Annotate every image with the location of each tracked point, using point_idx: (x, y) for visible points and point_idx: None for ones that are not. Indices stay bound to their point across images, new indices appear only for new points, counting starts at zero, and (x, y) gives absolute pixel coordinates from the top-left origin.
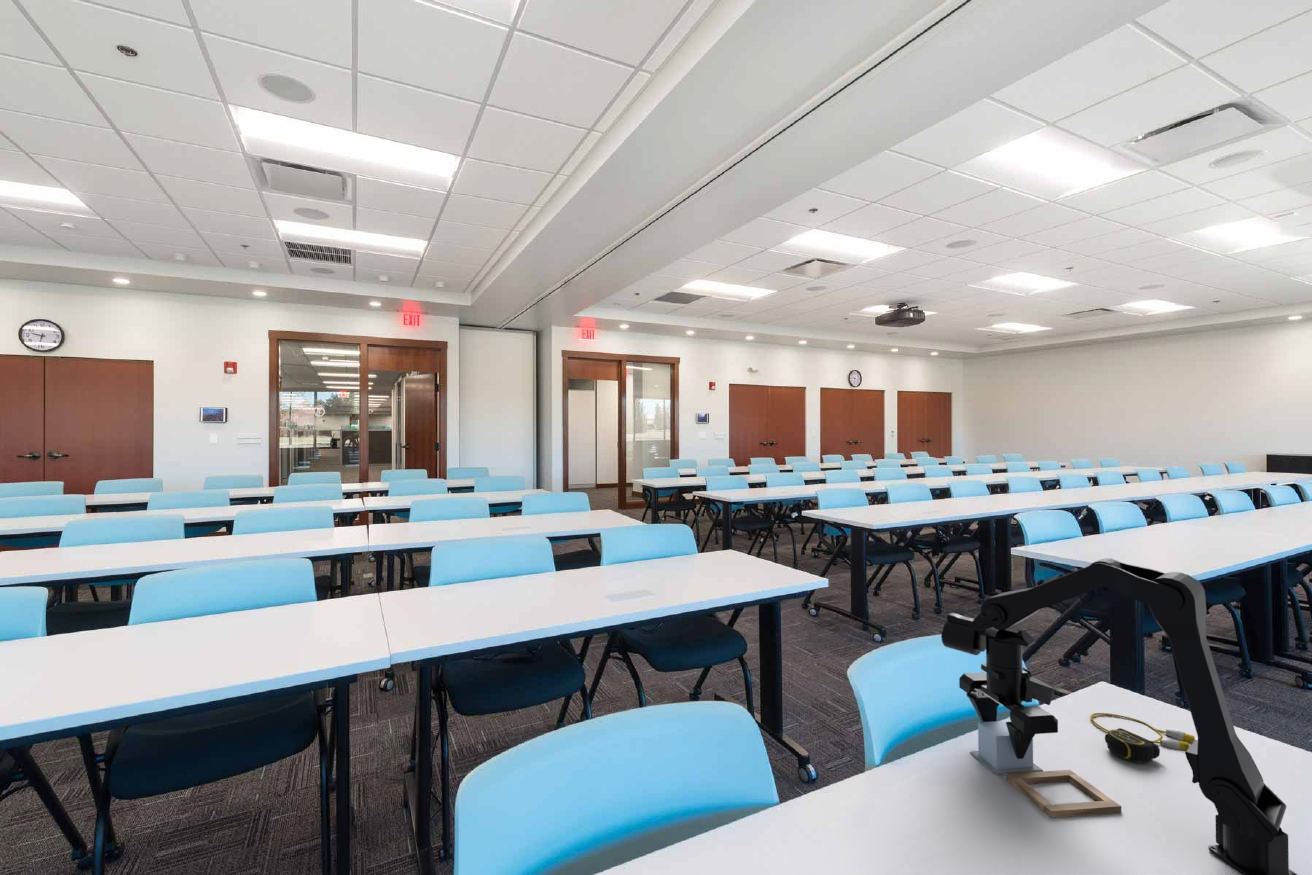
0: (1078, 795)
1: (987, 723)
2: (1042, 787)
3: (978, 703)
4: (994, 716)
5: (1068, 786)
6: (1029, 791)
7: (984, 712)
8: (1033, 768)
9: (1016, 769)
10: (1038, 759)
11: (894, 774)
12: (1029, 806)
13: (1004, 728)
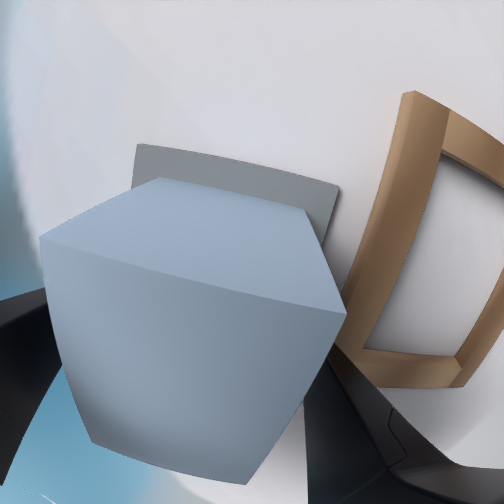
0: (480, 218)
1: (101, 428)
2: (401, 295)
3: (1, 460)
4: (13, 337)
5: (445, 193)
6: (404, 384)
7: (19, 408)
8: (311, 217)
9: None
10: (246, 96)
11: (199, 482)
12: (412, 391)
13: (172, 420)
